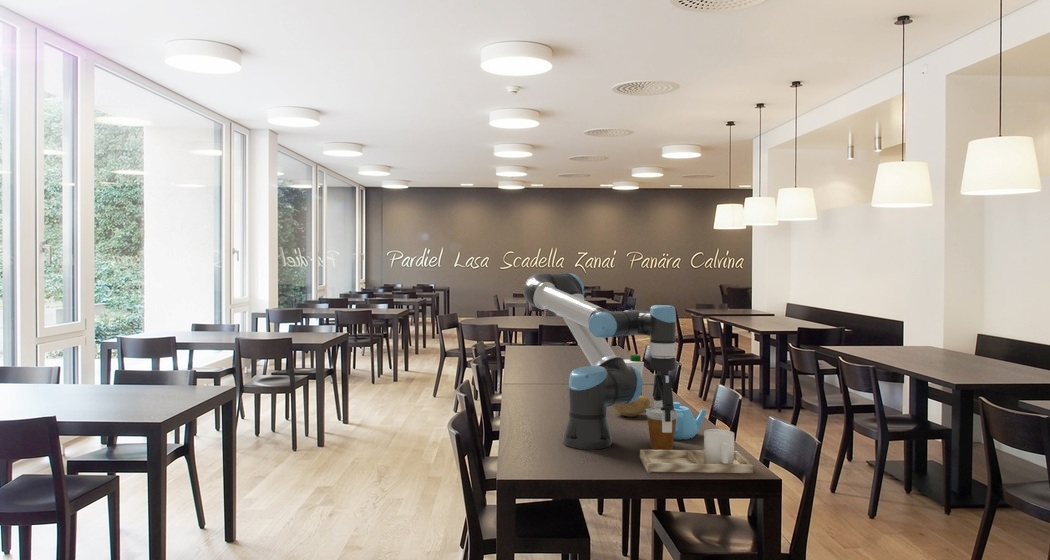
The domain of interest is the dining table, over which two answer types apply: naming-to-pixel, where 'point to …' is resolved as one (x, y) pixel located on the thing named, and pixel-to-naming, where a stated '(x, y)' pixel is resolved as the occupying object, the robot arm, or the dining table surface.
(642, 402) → the potato
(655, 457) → the cup carrier
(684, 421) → the teapot
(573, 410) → the robot arm
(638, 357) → the milk carton
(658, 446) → the disposable coffee cup
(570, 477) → the dining table surface
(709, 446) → the white mug
